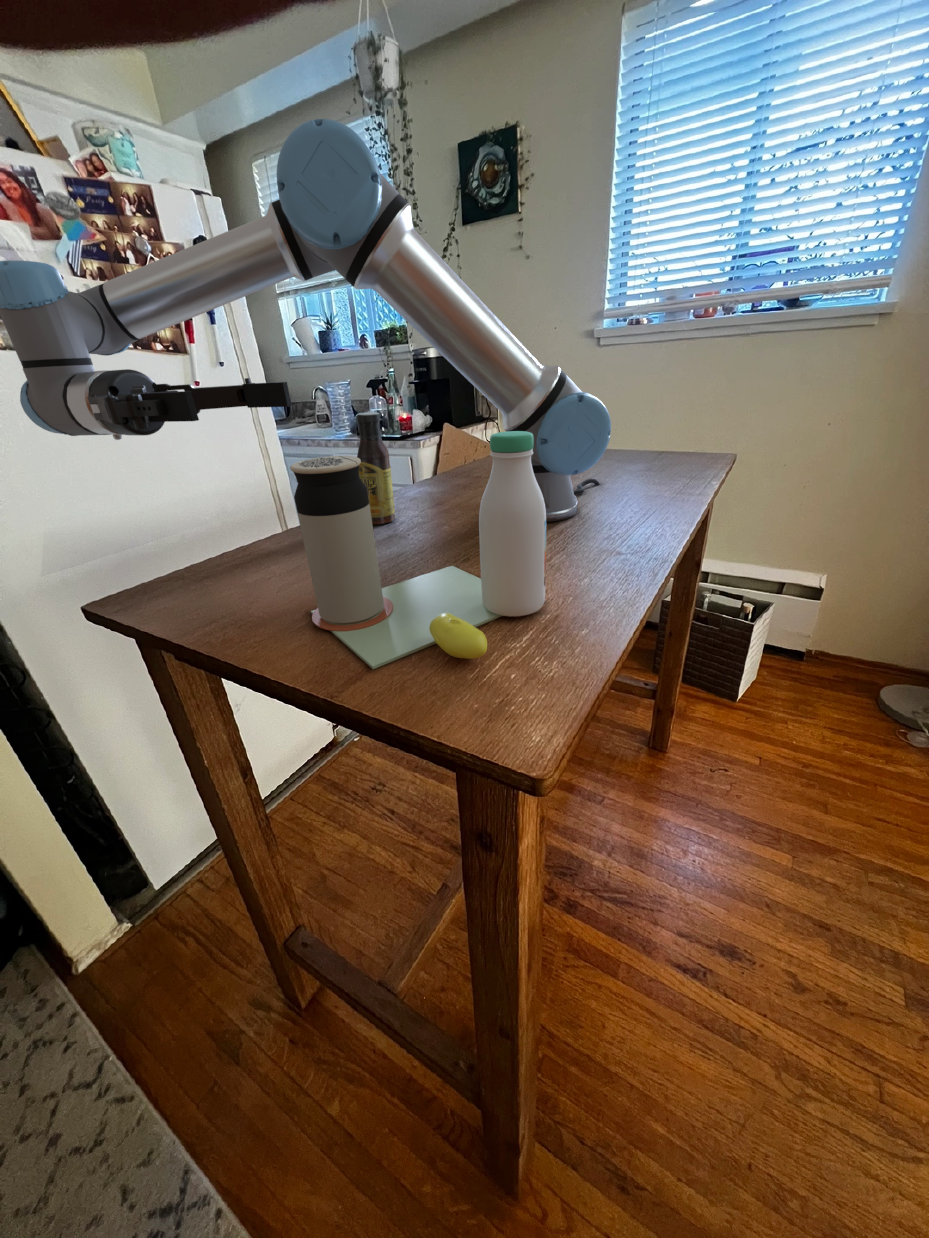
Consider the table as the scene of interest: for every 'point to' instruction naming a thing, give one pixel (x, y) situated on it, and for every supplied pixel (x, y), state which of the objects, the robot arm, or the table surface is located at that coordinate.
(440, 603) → the placemat
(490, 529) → the milk bottle
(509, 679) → the table surface
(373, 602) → the travel mug
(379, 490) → the sauce bottle
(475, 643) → the lemon
